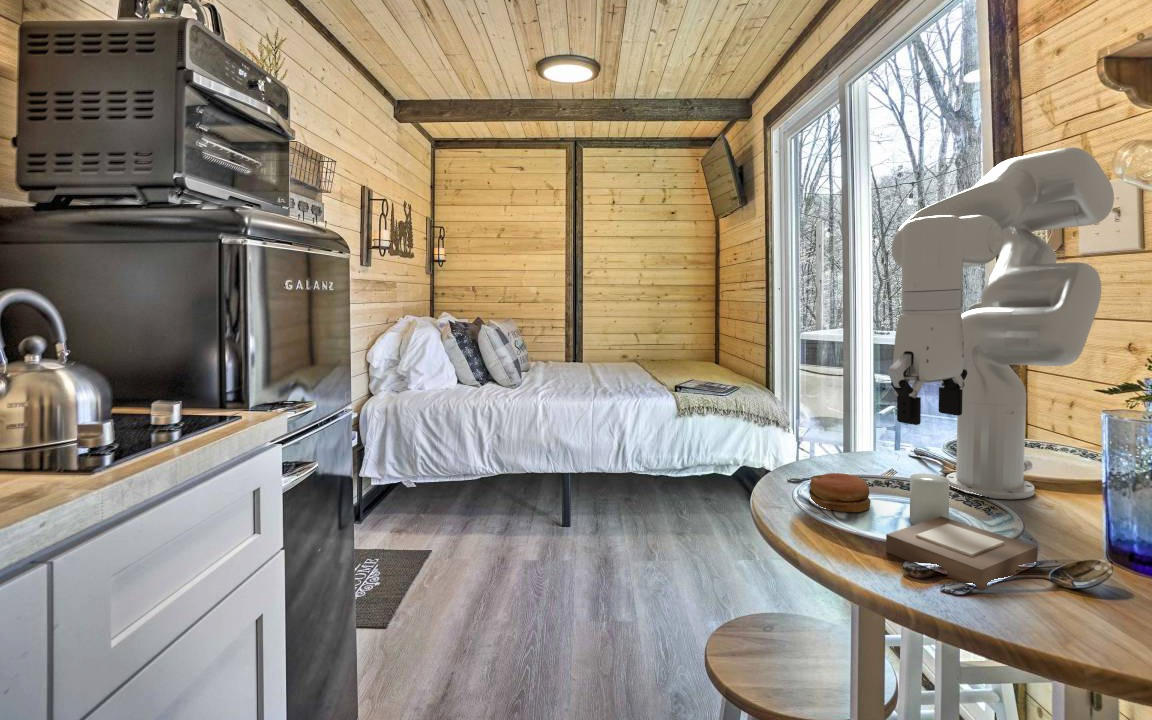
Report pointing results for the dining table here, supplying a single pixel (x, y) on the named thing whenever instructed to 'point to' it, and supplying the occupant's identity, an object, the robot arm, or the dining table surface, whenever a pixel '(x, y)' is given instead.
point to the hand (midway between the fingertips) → (929, 418)
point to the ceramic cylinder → (928, 497)
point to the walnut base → (961, 550)
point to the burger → (840, 492)
